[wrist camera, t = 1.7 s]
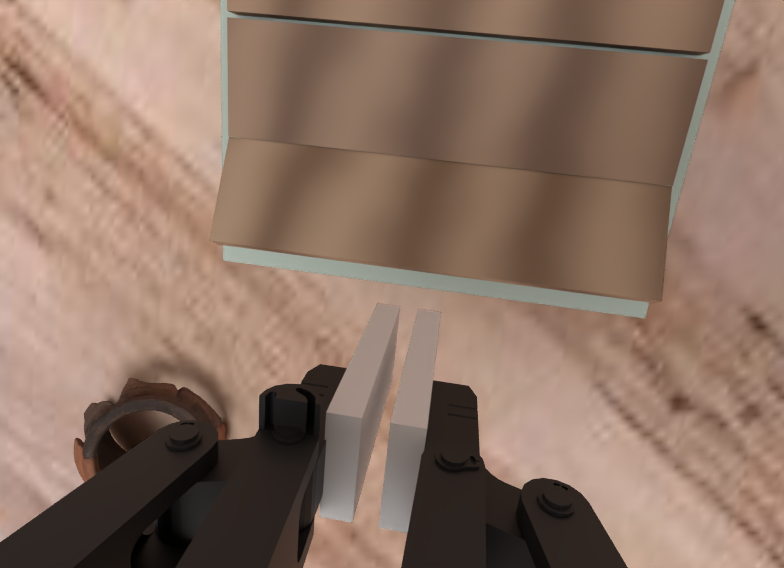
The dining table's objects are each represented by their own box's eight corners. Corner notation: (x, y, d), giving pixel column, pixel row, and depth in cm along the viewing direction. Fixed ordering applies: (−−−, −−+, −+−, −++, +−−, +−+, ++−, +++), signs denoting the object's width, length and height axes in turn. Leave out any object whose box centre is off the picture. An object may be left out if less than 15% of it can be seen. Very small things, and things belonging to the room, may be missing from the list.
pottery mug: (89, 364, 37) (55, 393, 29) (224, 356, 40) (225, 380, 33) (94, 522, 38) (62, 591, 30) (226, 502, 41) (228, 560, 33)
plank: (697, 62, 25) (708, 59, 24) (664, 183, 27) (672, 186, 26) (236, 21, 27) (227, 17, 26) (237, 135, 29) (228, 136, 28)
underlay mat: (750, -69, 24) (755, -72, 23) (642, 315, 30) (644, 318, 30) (222, -103, 26) (219, -106, 26) (226, 258, 32) (223, 260, 32)
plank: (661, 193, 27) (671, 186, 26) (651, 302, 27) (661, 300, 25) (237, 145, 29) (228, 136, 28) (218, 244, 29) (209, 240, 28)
